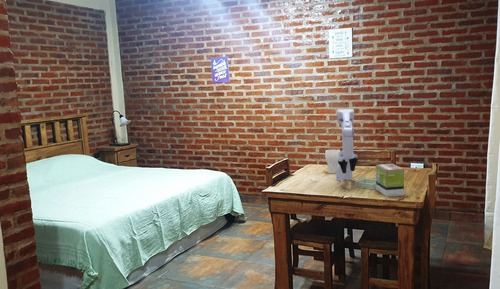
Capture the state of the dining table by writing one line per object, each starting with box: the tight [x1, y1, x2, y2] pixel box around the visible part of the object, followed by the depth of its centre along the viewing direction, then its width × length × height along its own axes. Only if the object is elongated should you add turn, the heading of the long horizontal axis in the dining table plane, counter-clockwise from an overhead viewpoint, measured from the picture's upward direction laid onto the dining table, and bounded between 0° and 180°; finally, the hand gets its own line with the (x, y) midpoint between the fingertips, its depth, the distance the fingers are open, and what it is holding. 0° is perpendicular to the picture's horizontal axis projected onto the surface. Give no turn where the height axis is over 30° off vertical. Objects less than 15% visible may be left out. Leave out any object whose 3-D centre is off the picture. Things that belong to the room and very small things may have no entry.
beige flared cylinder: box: [324, 149, 341, 174], centre depth 291 cm, size 11×11×15 cm
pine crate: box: [340, 179, 357, 191], centre depth 246 cm, size 7×5×4 cm
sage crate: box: [355, 177, 376, 191], centre depth 249 cm, size 13×11×3 cm
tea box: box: [375, 163, 405, 198], centre depth 232 cm, size 15×10×15 cm
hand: (348, 172), depth 246 cm, fingers open, 7 cm apart
